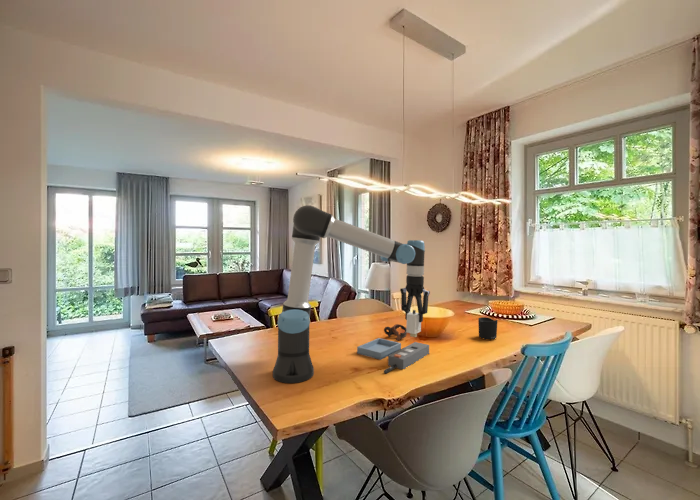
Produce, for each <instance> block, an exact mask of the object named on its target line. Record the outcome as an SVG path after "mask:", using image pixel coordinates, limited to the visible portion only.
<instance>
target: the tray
mask: <svg viewBox="0 0 700 500" xmlns="http://www.w3.org/2000/svg"><path fill="white" fill-rule="evenodd" d="M400 349H402V342H397V341H393V340H389V339H385V338H381V337H378V338H375V339H373V340H371V341H368V342H366V343H364V344H360V345H359V346H356V354H357V355H362V356H366V357H369V358H372V359H374V360H375V359H376V360H380V361H381V360H383V359H385V358H387V357H388V356H389V355H391V354H393V353H395V352H396V351H398V350H400Z"/></svg>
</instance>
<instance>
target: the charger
mask: <svg viewBox="0 0 700 500" xmlns="http://www.w3.org/2000/svg"><path fill="white" fill-rule="evenodd" d="M411 312H412V313H409V314H407V320H406V327H405V328H406V333H407V334H410V335H409V336H410V337H412V338H417V337H418V333H420V332H422V328H421V329H419V330H416V329H417V315H418V314H419V313H418V312H416V310H415V309H412V311H411Z"/></svg>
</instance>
